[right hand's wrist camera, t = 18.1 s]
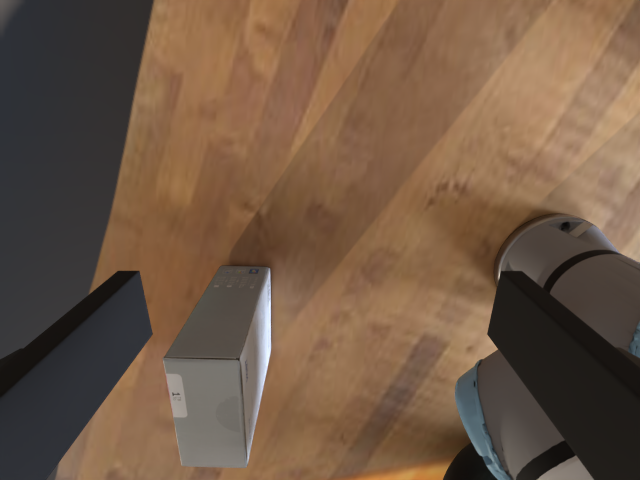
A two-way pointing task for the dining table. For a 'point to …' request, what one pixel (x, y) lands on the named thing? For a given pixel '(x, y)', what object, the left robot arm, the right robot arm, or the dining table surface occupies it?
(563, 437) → the right robot arm
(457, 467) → the sphere
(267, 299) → the hard drive box
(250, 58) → the dining table surface
